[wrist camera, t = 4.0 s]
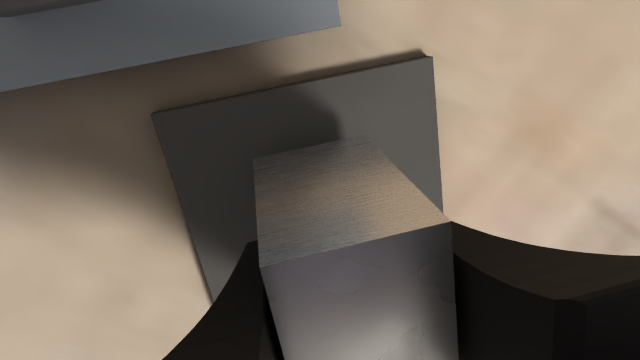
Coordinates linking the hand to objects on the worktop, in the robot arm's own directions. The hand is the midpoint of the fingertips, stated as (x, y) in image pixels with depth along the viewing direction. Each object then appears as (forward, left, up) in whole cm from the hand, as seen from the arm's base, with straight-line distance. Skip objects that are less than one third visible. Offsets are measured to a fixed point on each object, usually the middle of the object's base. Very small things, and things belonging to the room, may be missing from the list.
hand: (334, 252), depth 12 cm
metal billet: (0, 0, -2) cm, 2 cm away
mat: (0, 0, -3) cm, 3 cm away
